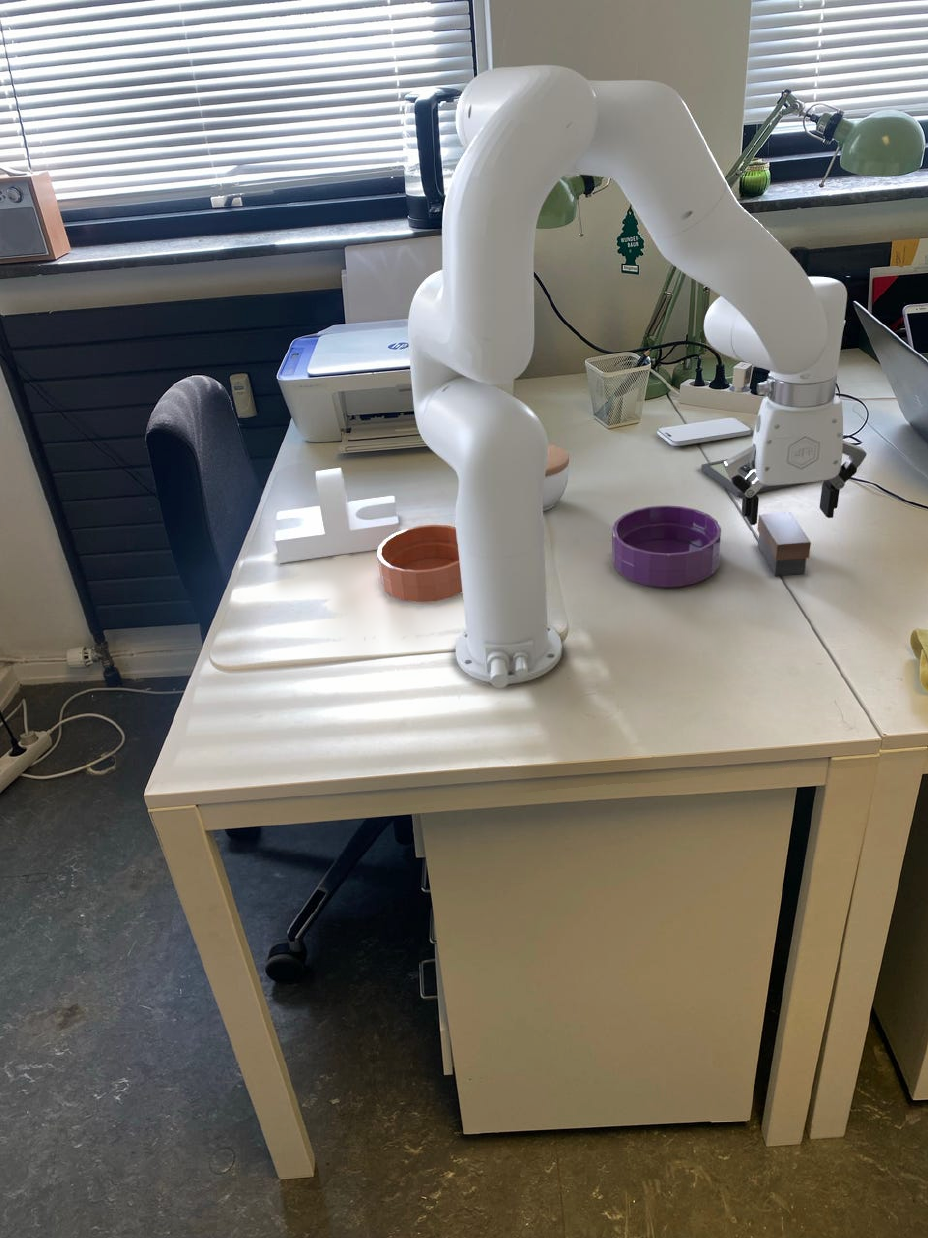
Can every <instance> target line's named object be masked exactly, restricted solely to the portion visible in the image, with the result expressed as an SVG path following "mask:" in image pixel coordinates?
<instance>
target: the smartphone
mask: <svg viewBox="0 0 928 1238" xmlns="http://www.w3.org/2000/svg"><path fill="white" fill-rule="evenodd" d="M656 431H657V435H658V436H659V437H660V438H662V439H663V440H664V441H666V442H667V443H668V444H669V445H671V446H673V447H680V446H681V447H682V446H687V445H693V444H699V443H700V444H701V443H706V442H713V441H720V440H725V439H731V438H737V437H738V438H739V437H746V436H750V435H751V434H752V428H751V427H749V426H748V425H747V424H744V423H743V422H741V421H740V420H739V419H737V418H735V417H730V416H729V417H723V418H715V419H709V420H703V421H695V422H690V423H683V424H677V425H676V424H675V425H669V426H663V427H659V428H657V430H656Z"/></svg>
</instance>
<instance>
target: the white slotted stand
mask: <svg viewBox="0 0 928 1238" xmlns="http://www.w3.org/2000/svg"><path fill="white" fill-rule="evenodd" d="M344 478H345V477H344V474H343V470H342V468H341V467H337V468H329V469H323V470H316V471H315V483H316V491H317V499H318V505H316V506H309V507H302V508H295V509H286V510H279V511H277V512H276V524H277V528H278V529H277V530H275V534H274V543H275V548H276V552H277V557H278V560H279V564H283V563H284V564H285V563H291V562H299V561H306V560H312V559H313V560H314V559H318V558H326V557H333V556H334V557H335V556H340V555H347V554H357V553H362V552H363V553H364V552H369V551H370V552H371V551H378V547H379V546H380V545H381V543H382V542H383V541H384V540H385V539H387V538H388V537H390V536H391V535H393V534H395V533H397V532H400V531H401V528H400V520H399V516H398V511H397V505H396V497H395V495H387V496H381V497H372V498H366V499H359V500H351V501H348V495H347V490H346V483H345V479H344Z"/></svg>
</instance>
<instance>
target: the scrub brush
mask: <svg viewBox="0 0 928 1238" xmlns="http://www.w3.org/2000/svg"><path fill="white" fill-rule="evenodd" d="M757 531H758V541H757V548H758V549H759V552H760V553H761V555H762V556H763V558H764V560H765V562H766V563H767V565H768V567H769V568H770V570H771V572H772V574H773V575H774V577H781V576H794V575H804V574H805V571H806V564H807V559H809V558H810V554H811V553H810V552H811V548H812V547H811V545H812V542H811V540H810V539H809V537H808V536H807V534H806V533H805V531H804V530H803V528H802V527H801V526H800V524H799V523H798V521H797V520H796V518H795V516H793V513H792V512H778V513H766V514H765V513H763V514H759V515H758V518H757Z"/></svg>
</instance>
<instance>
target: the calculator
mask: <svg viewBox="0 0 928 1238" xmlns="http://www.w3.org/2000/svg"><path fill="white" fill-rule="evenodd" d="M728 459H729V458H726V459H722V460H721V459H720V460H716V461H711V462H707V463H702V464H701V466H700V470H701V471H702V472H704V473H705V474H706V475H708V476H709V477H711V479H713V480H715V481H716V482H717V483H719V484H720V485H721V486H722V487H724V488H725V489H727V490H728V491H729V492H731V493H732V494H733V495H735V496H736V497H739V498H740V497H743V492H742V491H740V490H739V489H738V488H737V487H736V486H735V485H734V484H733V483H732V481H731V479H730V477H729V475H728V474H727V472H726V470H725V468H724V466H723V463H724V462H725V461H726V460H728ZM751 471H752V469H751V466H750V462H749V463H748V464H746V465H744V466H742V467H740V468H739V470H738V472H739V474H740V475H741V476H742V477H743V478H745V477H746V476H747V475H748V474H749V473H750V472H751ZM800 484H801V485H802V483H796V484H785V485H763V486H762V487H761V489H760V490H759V491H758V492H757V493H756V494H759V493H764V492H769V491H773V490H777V489H783V488H786V487H791V486H796V485H800Z"/></svg>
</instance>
